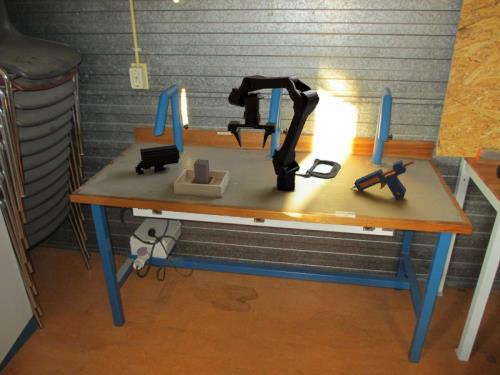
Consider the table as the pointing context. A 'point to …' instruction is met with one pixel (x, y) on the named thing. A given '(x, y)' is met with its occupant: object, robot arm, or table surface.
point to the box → (214, 189)
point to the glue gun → (385, 179)
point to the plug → (202, 172)
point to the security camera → (157, 158)
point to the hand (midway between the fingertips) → (252, 147)
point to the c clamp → (323, 175)
